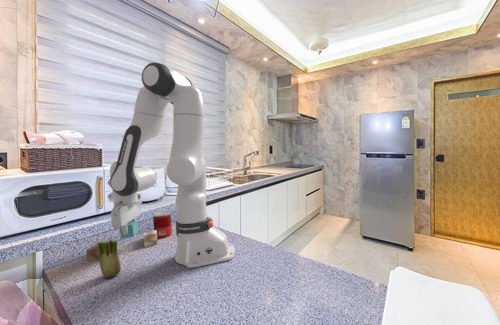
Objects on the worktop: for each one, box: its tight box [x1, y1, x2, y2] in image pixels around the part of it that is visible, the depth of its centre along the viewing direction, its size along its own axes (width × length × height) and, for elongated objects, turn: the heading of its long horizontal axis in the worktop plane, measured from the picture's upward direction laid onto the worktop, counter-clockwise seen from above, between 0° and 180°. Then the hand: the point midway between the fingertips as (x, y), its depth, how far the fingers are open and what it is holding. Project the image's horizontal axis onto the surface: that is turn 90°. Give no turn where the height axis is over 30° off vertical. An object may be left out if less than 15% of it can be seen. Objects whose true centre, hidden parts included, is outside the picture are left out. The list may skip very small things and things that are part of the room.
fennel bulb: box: [97, 239, 122, 279], centre depth 73 cm, size 6×5×12 cm
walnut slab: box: [85, 241, 109, 260], centre depth 89 cm, size 7×7×4 cm
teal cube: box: [119, 220, 139, 239], centre depth 93 cm, size 5×5×5 cm
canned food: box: [152, 210, 173, 239], centre depth 107 cm, size 8×8×11 cm
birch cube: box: [143, 229, 158, 248], centre depth 98 cm, size 5×5×5 cm
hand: (129, 231), depth 93 cm, fingers closed on teal cube, 5 cm apart
